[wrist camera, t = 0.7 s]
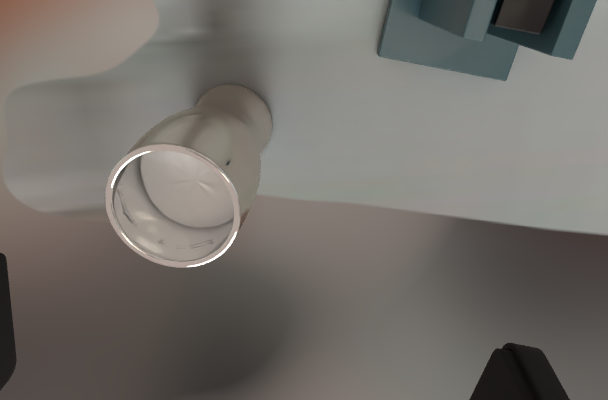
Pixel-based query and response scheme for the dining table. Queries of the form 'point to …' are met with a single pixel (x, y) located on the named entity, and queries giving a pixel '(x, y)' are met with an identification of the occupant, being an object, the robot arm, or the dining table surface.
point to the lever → (522, 15)
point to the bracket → (475, 35)
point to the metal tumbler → (191, 179)
